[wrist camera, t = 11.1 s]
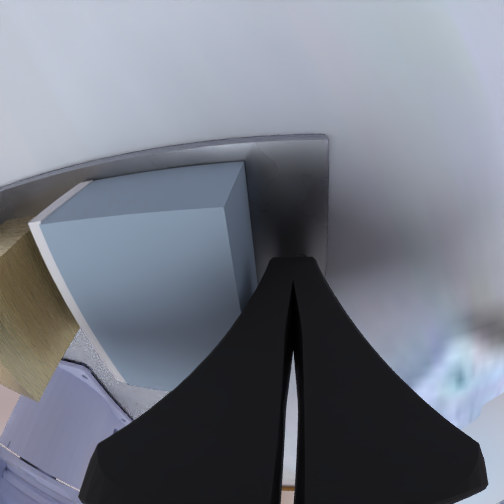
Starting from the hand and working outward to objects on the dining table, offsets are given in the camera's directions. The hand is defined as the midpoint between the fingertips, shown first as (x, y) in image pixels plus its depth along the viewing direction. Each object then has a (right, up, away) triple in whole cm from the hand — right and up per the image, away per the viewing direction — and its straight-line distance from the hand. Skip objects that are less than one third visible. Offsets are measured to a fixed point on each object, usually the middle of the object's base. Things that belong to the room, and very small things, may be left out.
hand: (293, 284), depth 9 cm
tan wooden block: (-11, 0, +2) cm, 11 cm away
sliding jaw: (-4, 0, +1) cm, 4 cm away
